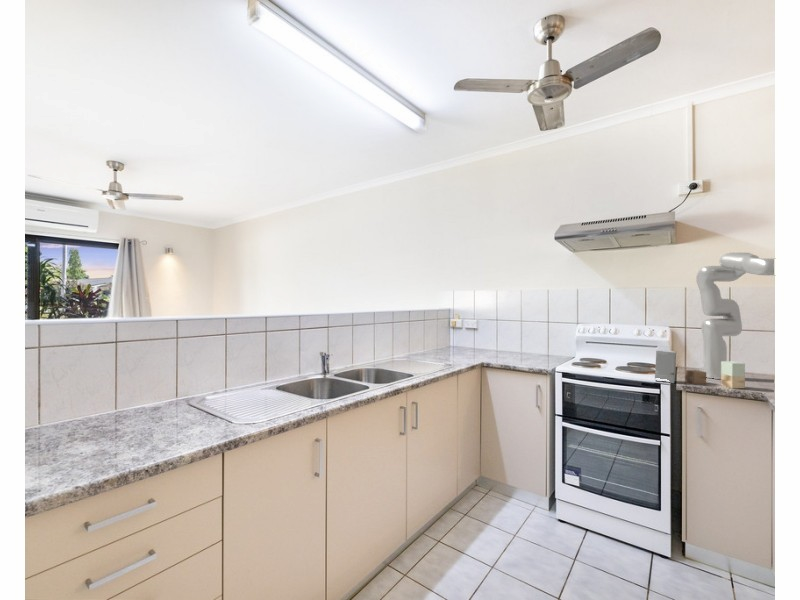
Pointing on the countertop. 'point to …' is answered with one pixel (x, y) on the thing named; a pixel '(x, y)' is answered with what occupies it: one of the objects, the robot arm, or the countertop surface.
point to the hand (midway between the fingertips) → (796, 326)
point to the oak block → (733, 381)
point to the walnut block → (695, 376)
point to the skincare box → (665, 365)
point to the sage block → (732, 368)
